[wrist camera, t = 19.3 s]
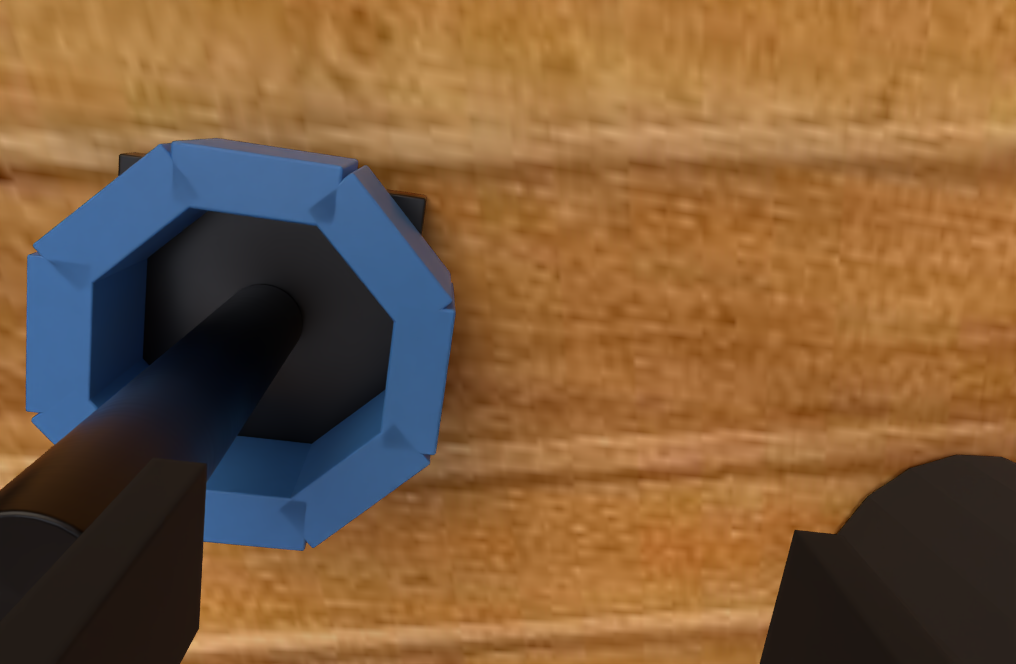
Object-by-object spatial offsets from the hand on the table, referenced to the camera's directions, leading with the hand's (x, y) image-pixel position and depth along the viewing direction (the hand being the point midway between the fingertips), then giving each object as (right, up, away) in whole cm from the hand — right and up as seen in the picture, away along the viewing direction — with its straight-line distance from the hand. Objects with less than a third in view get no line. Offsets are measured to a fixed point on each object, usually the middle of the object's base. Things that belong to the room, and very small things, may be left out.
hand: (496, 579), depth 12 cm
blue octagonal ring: (-7, +4, +13) cm, 15 cm away
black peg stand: (-8, +4, +14) cm, 17 cm away
